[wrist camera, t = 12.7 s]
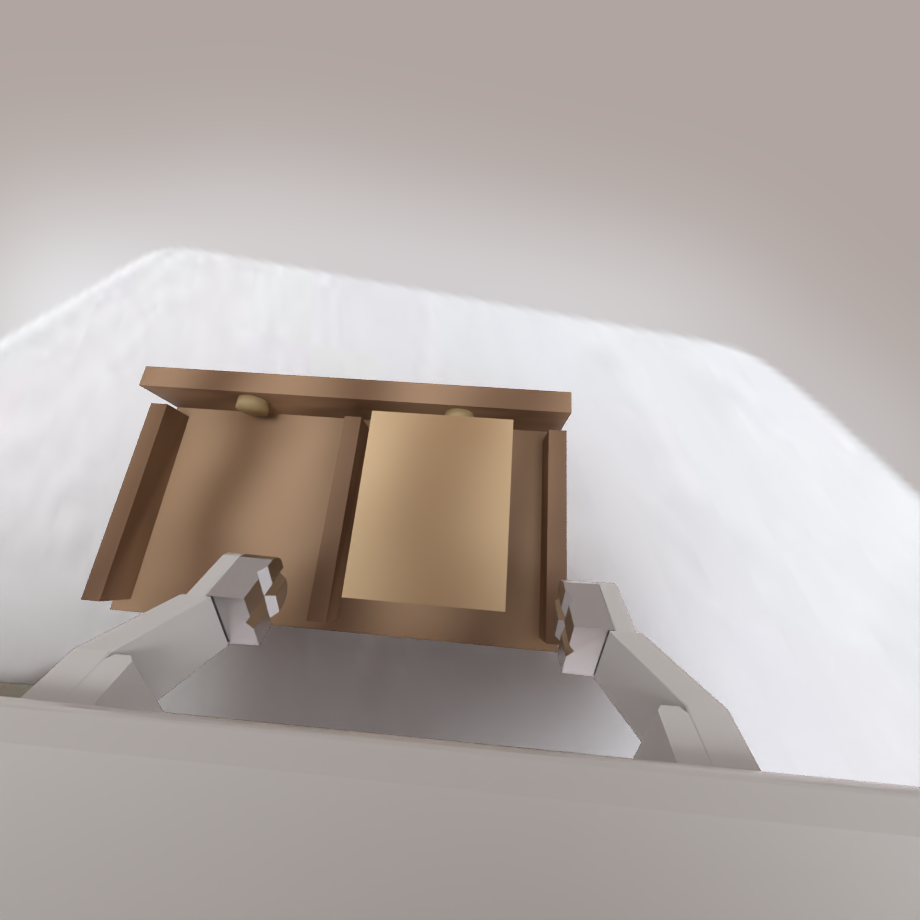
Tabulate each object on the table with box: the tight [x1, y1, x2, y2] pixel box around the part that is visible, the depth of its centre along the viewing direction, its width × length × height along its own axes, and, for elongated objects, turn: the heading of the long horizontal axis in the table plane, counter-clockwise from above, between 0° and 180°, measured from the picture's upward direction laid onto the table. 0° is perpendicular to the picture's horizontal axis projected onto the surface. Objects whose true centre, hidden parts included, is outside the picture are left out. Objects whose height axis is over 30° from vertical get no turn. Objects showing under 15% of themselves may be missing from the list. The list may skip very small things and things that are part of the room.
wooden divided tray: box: [81, 366, 571, 652], centre depth 18 cm, size 20×11×5 cm, turn 85°
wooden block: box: [342, 411, 513, 612], centre depth 14 cm, size 4×5×8 cm
